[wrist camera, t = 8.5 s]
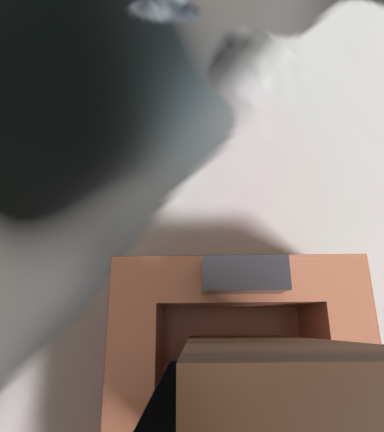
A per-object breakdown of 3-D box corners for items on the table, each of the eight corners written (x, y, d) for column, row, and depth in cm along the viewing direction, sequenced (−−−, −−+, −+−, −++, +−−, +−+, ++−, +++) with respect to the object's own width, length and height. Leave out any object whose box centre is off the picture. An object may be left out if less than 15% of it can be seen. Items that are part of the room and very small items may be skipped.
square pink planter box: (354, 505, 15) (457, 619, 9) (120, 507, 15) (74, 623, 9) (325, 271, 18) (388, 244, 12) (130, 272, 18) (101, 247, 12)
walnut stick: (290, 441, 14) (737, 970, 2) (189, 442, 14) (173, 974, 2) (281, 335, 15) (554, 359, 4) (188, 336, 15) (175, 363, 4)
